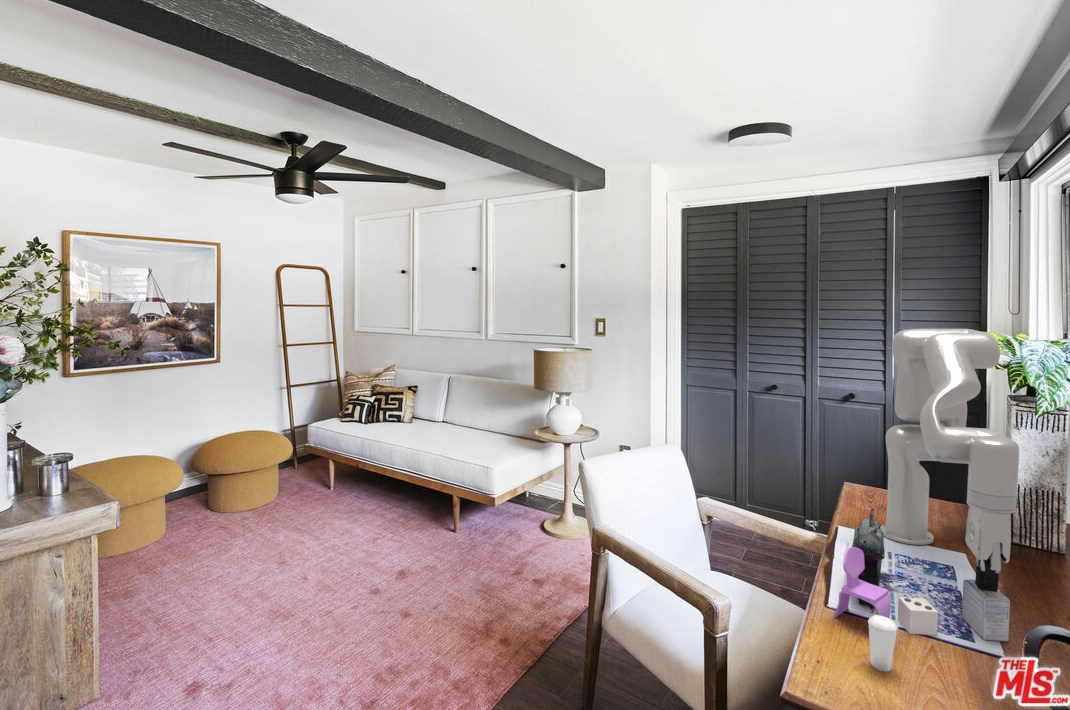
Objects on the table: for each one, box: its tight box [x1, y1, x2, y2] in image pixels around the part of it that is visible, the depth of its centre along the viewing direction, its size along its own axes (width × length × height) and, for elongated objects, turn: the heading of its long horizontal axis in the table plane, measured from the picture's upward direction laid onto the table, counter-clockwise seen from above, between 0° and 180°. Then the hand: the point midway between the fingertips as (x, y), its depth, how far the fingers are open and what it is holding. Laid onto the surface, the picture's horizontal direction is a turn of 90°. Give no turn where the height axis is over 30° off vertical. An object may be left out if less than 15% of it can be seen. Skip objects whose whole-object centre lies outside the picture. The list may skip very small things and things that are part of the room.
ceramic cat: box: [851, 507, 886, 609], centre depth 128 cm, size 20×6×20 cm, turn 148°
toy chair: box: [832, 546, 892, 619], centre depth 115 cm, size 8×9×15 cm
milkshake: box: [867, 614, 902, 673], centre depth 101 cm, size 5×5×10 cm
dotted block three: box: [897, 596, 939, 636], centre depth 113 cm, size 5×5×5 cm
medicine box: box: [961, 579, 1011, 642], centre depth 112 cm, size 8×4×9 cm, turn 168°
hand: (986, 588), depth 111 cm, fingers closed
